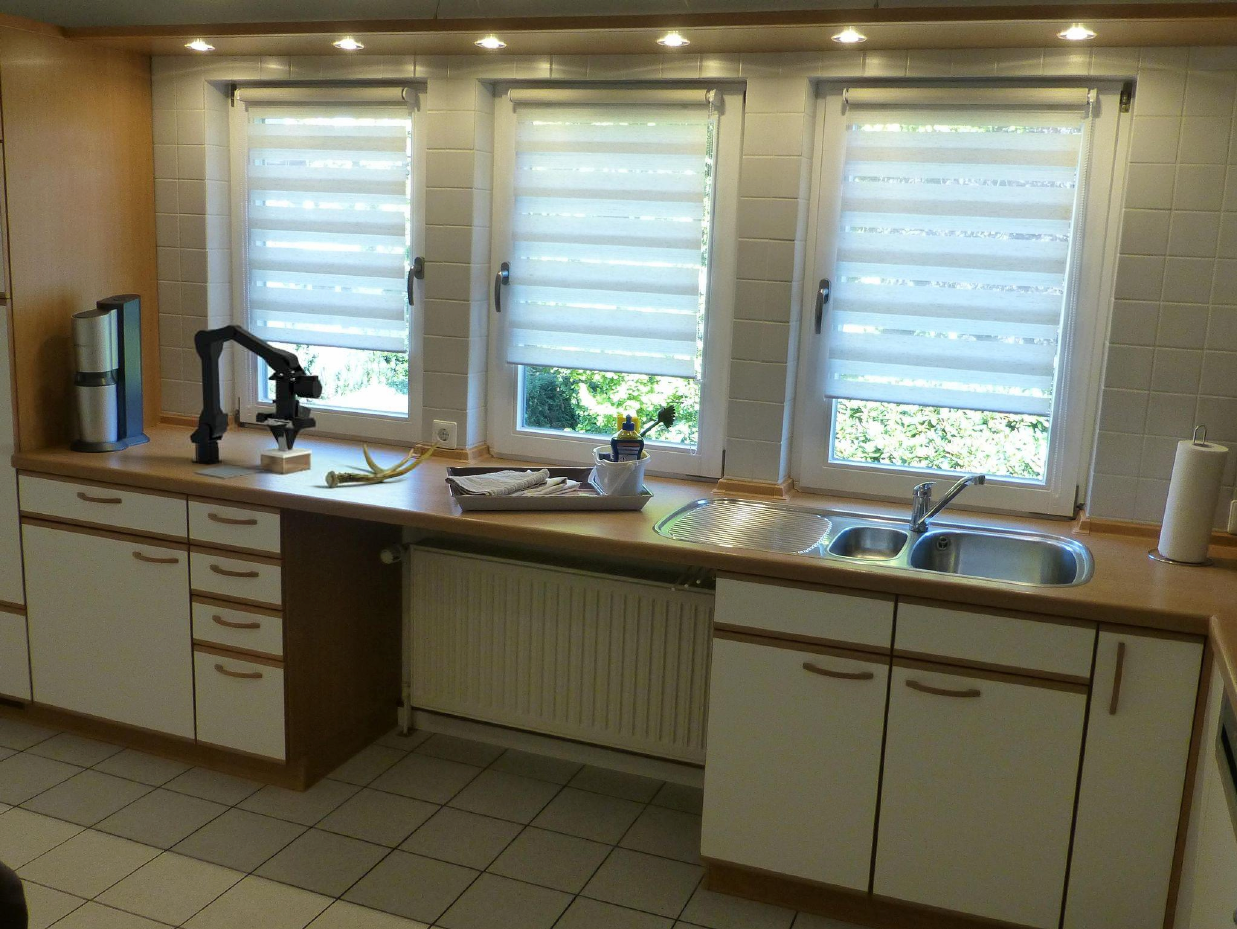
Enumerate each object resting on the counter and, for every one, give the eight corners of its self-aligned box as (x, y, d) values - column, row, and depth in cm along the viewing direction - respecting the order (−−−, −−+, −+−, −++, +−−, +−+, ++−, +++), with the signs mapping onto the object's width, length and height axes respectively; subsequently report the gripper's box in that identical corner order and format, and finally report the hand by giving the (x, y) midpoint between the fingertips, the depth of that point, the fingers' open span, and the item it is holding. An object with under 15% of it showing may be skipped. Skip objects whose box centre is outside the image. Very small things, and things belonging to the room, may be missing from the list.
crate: (260, 470, 320) (260, 453, 319) (288, 465, 329) (288, 448, 328) (283, 474, 316) (283, 457, 315) (310, 469, 325) (310, 452, 324)
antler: (323, 496, 302) (319, 463, 300) (366, 467, 333) (362, 436, 331) (416, 495, 298) (412, 461, 296) (451, 465, 329) (448, 434, 326)
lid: (259, 453, 319) (258, 437, 318) (288, 448, 329) (288, 433, 328) (283, 457, 314) (283, 441, 313) (312, 452, 324) (312, 436, 323)
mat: (194, 472, 311) (194, 471, 311) (229, 466, 323) (229, 465, 323) (224, 478, 306) (224, 477, 306) (259, 472, 317) (259, 470, 317)
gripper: (329, 397, 321) (329, 449, 324) (282, 390, 330) (282, 441, 332) (301, 400, 311) (301, 454, 314) (254, 393, 320) (254, 446, 323)
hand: (285, 448), depth 321 cm, fingers closed on lid, 3 cm apart
